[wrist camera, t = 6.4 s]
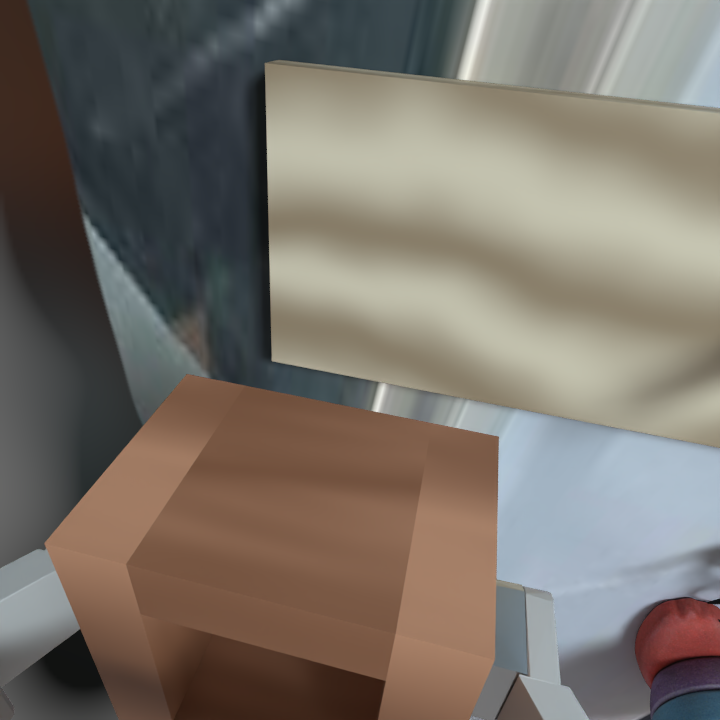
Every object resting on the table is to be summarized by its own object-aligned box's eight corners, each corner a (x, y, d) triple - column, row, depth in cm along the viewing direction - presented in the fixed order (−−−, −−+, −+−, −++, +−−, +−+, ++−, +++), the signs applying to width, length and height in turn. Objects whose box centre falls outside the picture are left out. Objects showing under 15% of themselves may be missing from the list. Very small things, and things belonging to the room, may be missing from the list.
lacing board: (278, 59, 22) (155, 89, 14) (1143, 154, 18) (1633, 269, 10) (281, 346, 30) (203, 465, 22) (881, 460, 26) (1043, 656, 18)
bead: (186, 373, 10) (44, 543, 7) (498, 436, 10) (494, 659, 6) (213, 560, 14) (123, 731, 11) (444, 619, 13) (424, 824, 10)
